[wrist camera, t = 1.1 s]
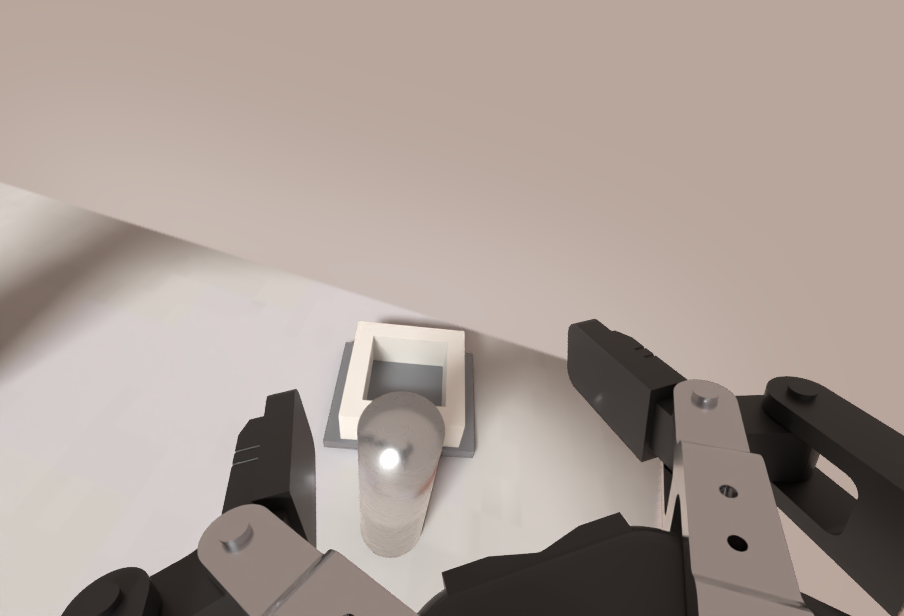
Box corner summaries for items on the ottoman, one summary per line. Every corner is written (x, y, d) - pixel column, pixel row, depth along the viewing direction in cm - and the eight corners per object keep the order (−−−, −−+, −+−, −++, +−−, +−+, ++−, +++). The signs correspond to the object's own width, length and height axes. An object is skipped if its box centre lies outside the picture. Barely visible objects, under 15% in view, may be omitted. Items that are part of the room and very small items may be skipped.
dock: (324, 446, 36) (319, 418, 33) (346, 348, 43) (344, 317, 40) (472, 457, 37) (482, 430, 34) (470, 360, 44) (478, 330, 41)
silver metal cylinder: (356, 555, 31) (350, 468, 21) (366, 491, 34) (364, 388, 24) (420, 559, 31) (444, 474, 21) (424, 495, 34) (446, 394, 24)
